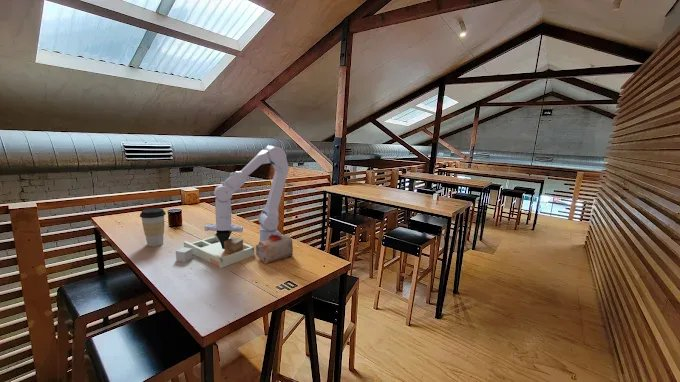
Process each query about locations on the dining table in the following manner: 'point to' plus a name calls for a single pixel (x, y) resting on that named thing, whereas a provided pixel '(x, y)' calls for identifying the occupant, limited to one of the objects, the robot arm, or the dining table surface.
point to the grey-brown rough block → (274, 248)
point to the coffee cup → (153, 225)
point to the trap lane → (218, 252)
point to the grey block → (184, 254)
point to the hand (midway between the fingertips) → (224, 248)
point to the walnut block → (233, 245)
